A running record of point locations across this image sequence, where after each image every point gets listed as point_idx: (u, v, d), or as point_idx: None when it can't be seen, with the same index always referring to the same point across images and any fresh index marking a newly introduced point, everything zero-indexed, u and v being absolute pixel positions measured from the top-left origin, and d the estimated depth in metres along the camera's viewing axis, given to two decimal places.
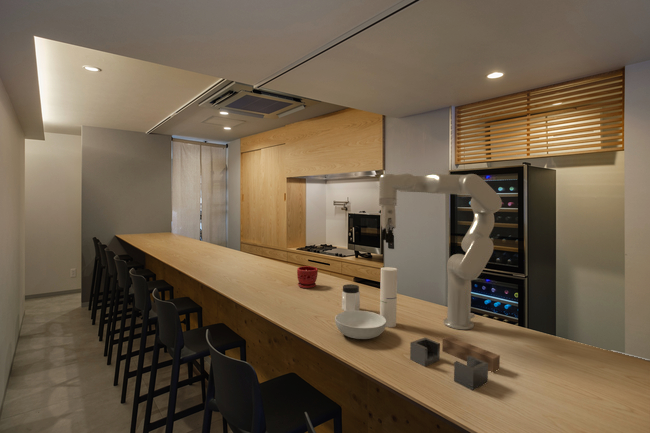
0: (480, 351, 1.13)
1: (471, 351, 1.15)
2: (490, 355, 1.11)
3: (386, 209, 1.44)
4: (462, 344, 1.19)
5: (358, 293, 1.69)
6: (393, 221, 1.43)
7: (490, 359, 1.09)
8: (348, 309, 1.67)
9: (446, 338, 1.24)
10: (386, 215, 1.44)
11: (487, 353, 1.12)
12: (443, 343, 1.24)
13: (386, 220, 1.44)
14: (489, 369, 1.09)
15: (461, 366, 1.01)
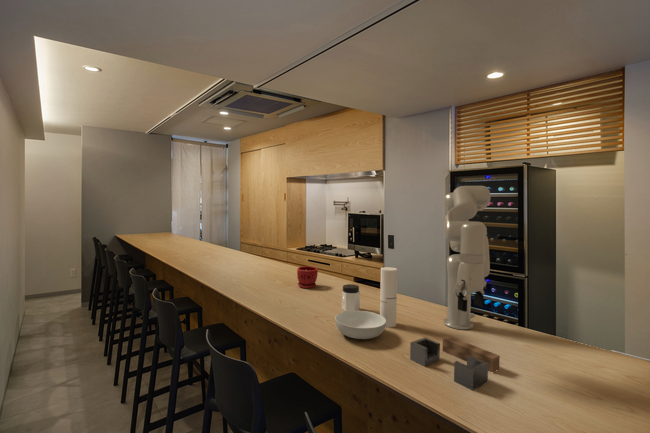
0: (480, 351, 1.13)
1: (471, 351, 1.15)
2: (490, 355, 1.10)
3: None
4: (462, 344, 1.19)
5: (358, 293, 1.69)
6: None
7: (490, 359, 1.09)
8: (348, 309, 1.67)
9: (446, 338, 1.24)
10: None
11: (487, 353, 1.12)
12: (443, 343, 1.24)
13: None
14: (489, 369, 1.09)
15: (461, 366, 1.01)
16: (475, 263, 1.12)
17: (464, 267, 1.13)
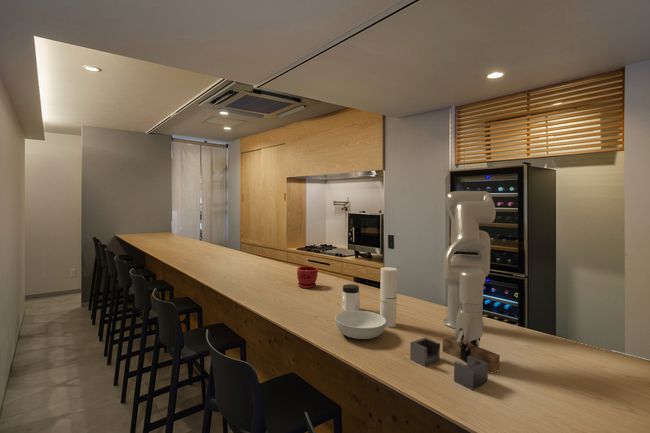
0: (480, 351, 1.13)
1: (471, 350, 1.14)
2: (490, 355, 1.10)
3: None
4: None
5: (358, 293, 1.69)
6: None
7: (490, 358, 1.09)
8: (348, 309, 1.67)
9: (446, 337, 1.24)
10: None
11: (487, 353, 1.12)
12: (443, 342, 1.24)
13: None
14: (489, 369, 1.09)
15: (461, 366, 1.01)
16: (473, 312, 1.13)
17: (463, 315, 1.14)
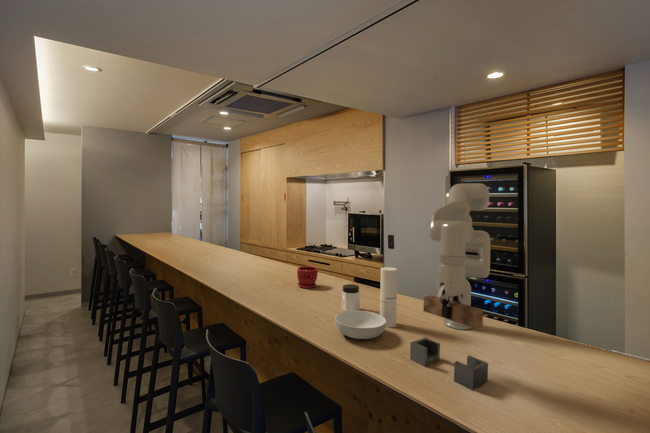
0: (462, 306, 1.06)
1: (453, 306, 1.07)
2: (473, 309, 1.03)
3: None
4: None
5: (358, 293, 1.69)
6: None
7: (473, 312, 1.02)
8: (348, 309, 1.67)
9: (427, 296, 1.16)
10: None
11: (470, 307, 1.05)
12: (424, 302, 1.16)
13: None
14: (471, 323, 1.02)
15: (461, 366, 1.01)
16: (455, 265, 1.06)
17: (444, 269, 1.07)
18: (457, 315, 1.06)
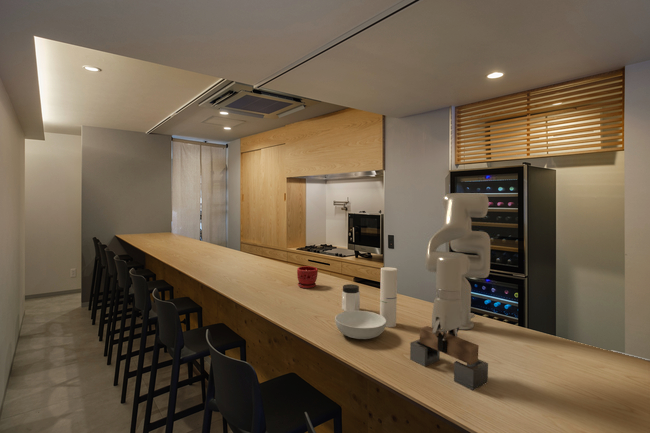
0: (458, 341, 1.06)
1: (448, 341, 1.07)
2: (468, 345, 1.03)
3: None
4: None
5: (358, 293, 1.69)
6: None
7: (468, 349, 1.01)
8: (348, 309, 1.67)
9: (424, 328, 1.16)
10: None
11: (465, 343, 1.04)
12: (420, 333, 1.16)
13: None
14: (467, 360, 1.02)
15: (461, 366, 1.01)
16: (451, 300, 1.05)
17: (439, 303, 1.06)
18: (452, 349, 1.06)
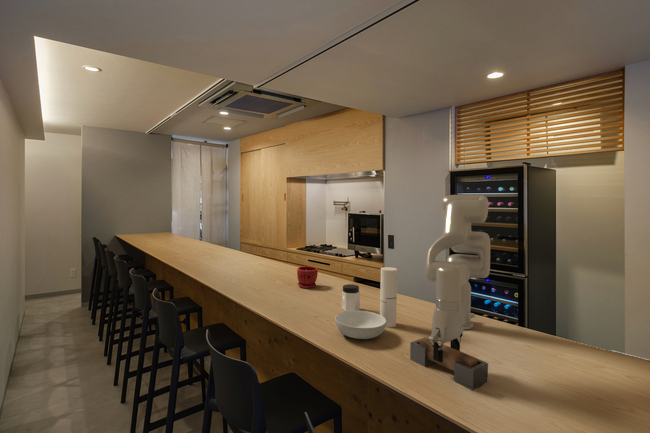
0: (457, 354, 1.06)
1: (448, 354, 1.07)
2: (468, 358, 1.03)
3: None
4: None
5: (358, 293, 1.69)
6: None
7: (467, 362, 1.02)
8: (348, 309, 1.67)
9: (423, 340, 1.17)
10: None
11: (465, 356, 1.05)
12: None
13: None
14: None
15: (461, 366, 1.01)
16: (450, 310, 1.05)
17: (439, 314, 1.06)
18: (452, 363, 1.06)
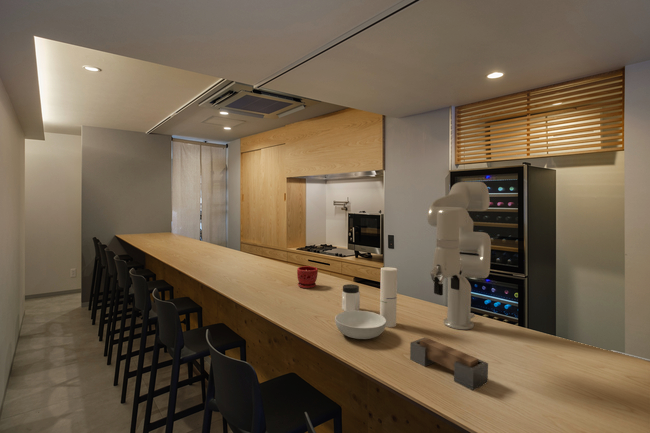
0: (457, 354, 1.06)
1: (448, 354, 1.07)
2: (468, 358, 1.03)
3: None
4: (439, 346, 1.11)
5: (358, 293, 1.69)
6: None
7: (467, 362, 1.02)
8: (348, 309, 1.67)
9: (423, 340, 1.17)
10: None
11: (465, 356, 1.05)
12: None
13: None
14: None
15: (461, 366, 1.01)
16: (450, 248, 1.14)
17: (440, 252, 1.15)
18: (452, 363, 1.06)
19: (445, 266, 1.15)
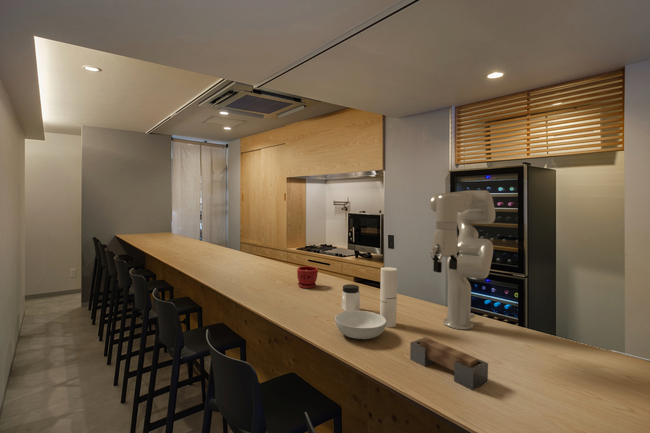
0: (457, 354, 1.06)
1: (448, 354, 1.07)
2: (468, 358, 1.03)
3: None
4: (439, 346, 1.11)
5: (358, 293, 1.69)
6: None
7: (467, 362, 1.02)
8: (348, 309, 1.67)
9: (423, 340, 1.17)
10: None
11: (465, 356, 1.05)
12: None
13: None
14: None
15: (461, 366, 1.01)
16: (448, 229, 1.26)
17: (439, 233, 1.27)
18: (452, 363, 1.06)
19: (444, 245, 1.26)
